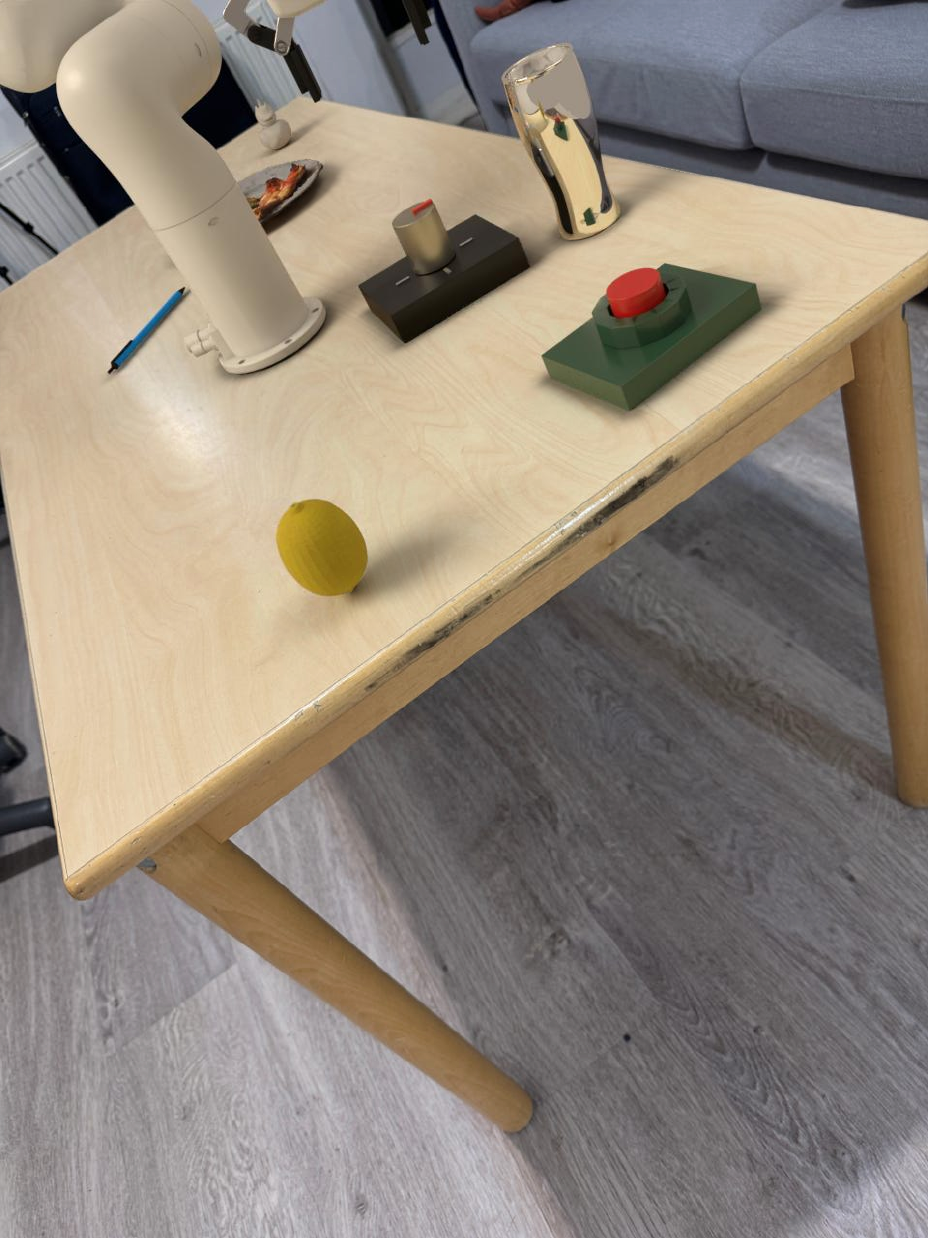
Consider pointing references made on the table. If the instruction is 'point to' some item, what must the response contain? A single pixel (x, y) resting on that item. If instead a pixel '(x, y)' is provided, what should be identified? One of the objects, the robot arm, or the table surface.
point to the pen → (144, 331)
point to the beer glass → (562, 138)
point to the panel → (445, 279)
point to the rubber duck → (272, 127)
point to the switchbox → (651, 337)
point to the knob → (423, 237)
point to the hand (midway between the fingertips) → (370, 69)
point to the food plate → (278, 186)
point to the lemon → (321, 547)
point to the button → (635, 292)
